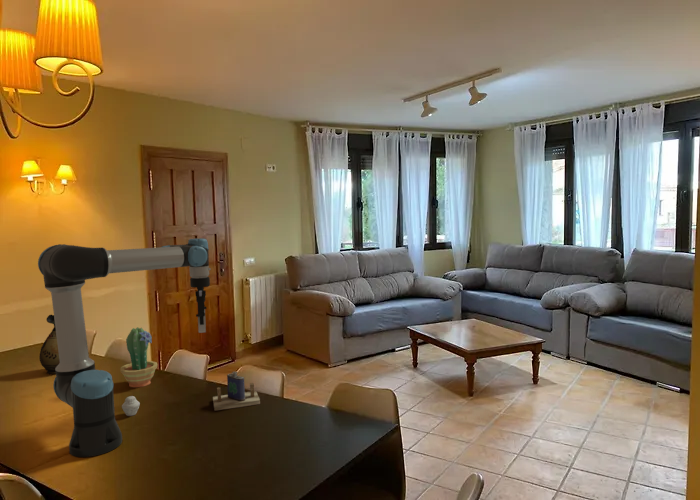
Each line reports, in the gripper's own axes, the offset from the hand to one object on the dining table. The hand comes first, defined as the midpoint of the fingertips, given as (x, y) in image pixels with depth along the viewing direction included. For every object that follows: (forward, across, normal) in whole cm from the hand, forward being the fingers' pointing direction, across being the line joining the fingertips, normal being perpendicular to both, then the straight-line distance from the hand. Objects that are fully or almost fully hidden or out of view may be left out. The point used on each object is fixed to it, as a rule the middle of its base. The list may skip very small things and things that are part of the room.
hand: (202, 328), depth 200 cm
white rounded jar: (+28, -11, +26) cm, 40 cm away
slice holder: (+27, -13, -12) cm, 32 cm away
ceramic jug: (+28, +60, +68) cm, 95 cm away
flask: (+26, -13, -12) cm, 31 cm away
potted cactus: (+28, +25, +28) cm, 46 cm away
